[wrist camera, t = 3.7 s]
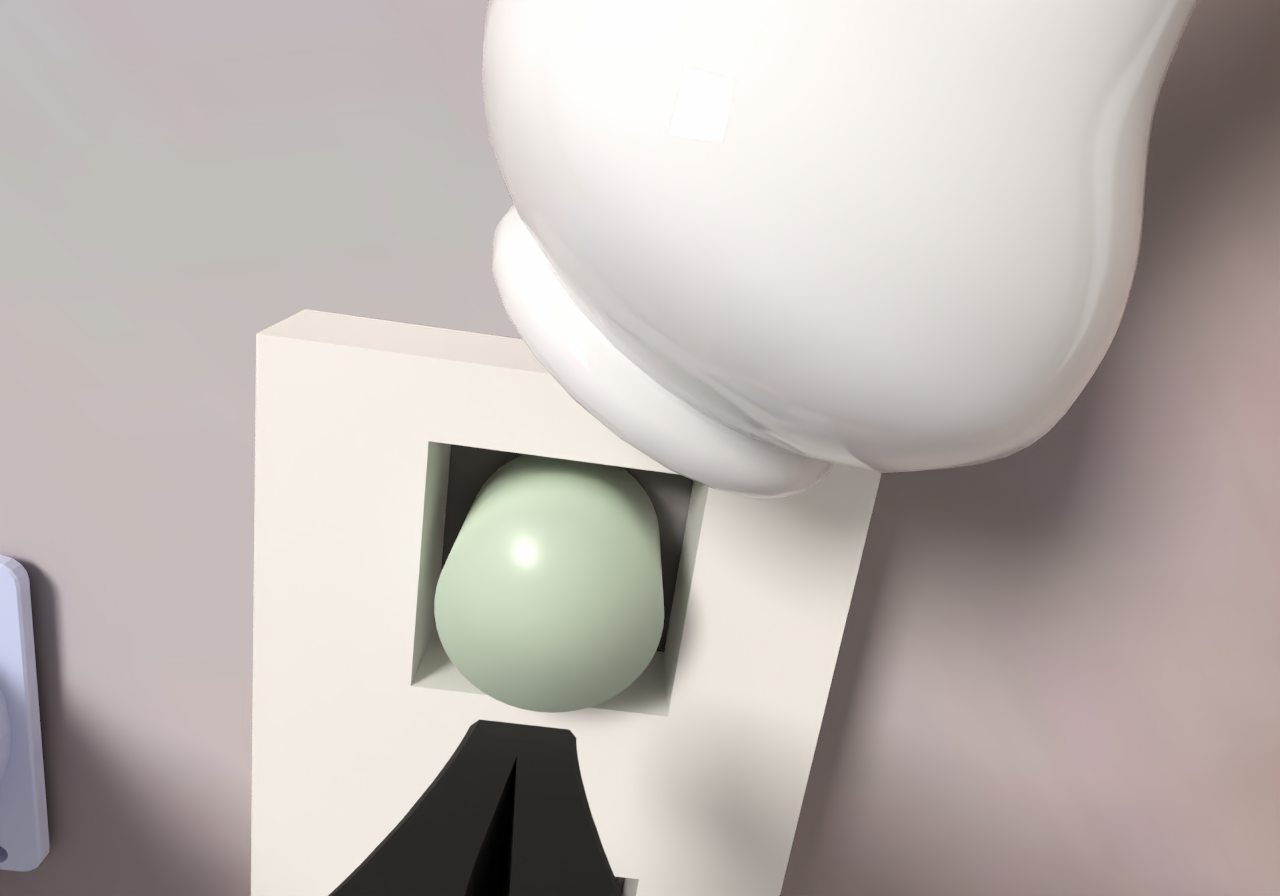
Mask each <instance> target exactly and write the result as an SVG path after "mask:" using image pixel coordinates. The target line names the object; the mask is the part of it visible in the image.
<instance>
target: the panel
mask: <svg viewBox="0 0 1280 896" xmlns="http://www.w3.org/2000/svg"><path fill="white" fill-rule="evenodd" d="M451 444H454V445H461V446H469V447H476V448H484V449H491V450H499V451H506V452H514V453H521V454H529V455H536V456H544V457H552V458H559V459H567V460H574V461H582V462H589V463H597V464H604V465H612V466H619V467H627V468H634V469H642V470H649V471H657V472H664V473H672V474H678V473H676V472H674V471H671V470H669V469H667V468H666V467H664V466H663V465H661V464H660V463H658V462H656V461H655V460H653V459H652V458H650V457H649V456H647V455H645V454H644V453H642V452H641V451H639V450H637V449H636V448H634V447H633V446H631V445H630V444H628V443H626V442H625V441H623V440H622V439H620V438H619V437H618V436H617V435H615V434H614V433H613V432H612V431H611V430H609V429H608V428H607V427H606V426H605V425H603V424H602V423H601V422H600V421H599V420H597V419H596V418H595V417H594V416H593V415H591V414H590V413H589V412H588V411H587V410H585V409H584V408H583V407H582V406H581V405H579V404H578V403H577V402H576V401H575V400H574V399H573V398H572V397H571V396H570V395H569V394H568V393H567V392H566V391H565V390H564V389H563V387H562V386H561V385H560V384H559V383H558V382H557V381H556V380H555V379H554V378H553V376H552V375H551V374H550V373H549V372H548V371H547V370H546V369H545V368H544V367H543V365H542V364H541V363H540V362H539V361H538V360H537V359H536V358H535V357H534V355H533V354H532V352H531V350H530V349H529V347H528V346H527V344H526V343H525V341H524V340H523V339H517V338H509V337H502V336H495V335H488V334H481V333H473V332H466V331H459V330H452V329H445V328H437V327H430V326H423V325H416V324H409V323H402V322H394V321H387V320H380V319H373V318H366V317H358V316H351V315H344V314H337V313H330V312H322V311H315V310H308V309H305V310H303V311H301V312H299V313H297V314H295V315H293V316H291V317H289V318H287V319H285V320H283V321H281V322H279V323H277V324H275V325H273V326H271V327H269V328H267V329H265V330H263V331H261V332H259V333H257V334H256V418H255V519H254V621H253V723H252V825H251V896H328V895H329V894H330V893H331V892H332V891H334V890H335V889H336V888H337V887H338V886H339V885H340V884H341V883H342V882H343V881H344V880H345V879H346V878H347V877H348V876H349V875H350V874H351V873H352V872H353V871H354V870H355V869H356V868H357V867H358V866H359V865H360V864H361V863H362V862H363V861H364V860H365V859H366V858H367V857H368V856H369V855H370V854H371V853H372V851H373V850H374V849H375V848H376V847H377V846H378V845H379V844H380V843H381V842H382V841H383V840H384V839H385V838H386V836H387V835H388V834H389V833H390V832H391V831H392V830H393V829H394V828H395V827H396V826H397V825H398V823H399V822H400V821H401V820H402V819H403V818H404V816H405V815H406V814H407V813H408V812H409V810H410V809H411V808H412V807H413V806H414V804H415V803H416V802H417V801H418V799H419V798H420V797H421V796H422V794H423V793H424V792H425V791H426V790H427V788H428V787H429V786H430V785H431V783H432V782H433V781H434V780H435V778H436V777H437V775H438V774H439V773H440V771H441V770H442V769H443V767H444V766H445V765H446V763H447V762H448V760H449V759H450V758H451V756H452V755H453V753H454V752H455V750H456V749H457V747H458V746H459V744H460V743H461V741H462V739H463V738H464V736H465V735H466V733H467V731H468V729H469V727H470V726H471V725H472V724H474V723H475V722H477V721H478V720H479V719H480V720H489V721H498V722H506V723H515V724H524V725H533V726H542V727H551V728H560V729H569V730H570V731H571V732H572V733H573V734H574V736H575V737H576V745H577V755H578V762H579V767H580V772H581V777H582V781H583V785H584V789H585V793H586V797H587V800H588V804H589V807H590V810H591V814H592V817H593V820H594V823H595V825H596V828H597V831H598V834H599V837H600V840H601V843H602V846H603V849H604V851H605V854H606V856H607V859H608V862H609V864H610V867H611V869H612V871H613V874H614V876H615V877H623V878H625V883H624V888H623V894H622V895H623V896H780V893H781V889H782V885H783V881H784V877H785V873H786V869H787V864H788V860H789V856H790V852H791V848H792V844H793V839H794V835H795V831H796V827H797V823H798V819H799V815H800V810H801V806H802V802H803V798H804V794H805V790H806V785H807V781H808V777H809V773H810V769H811V765H812V761H813V756H814V752H815V748H816V744H817V740H818V736H819V731H820V727H821V723H822V719H823V715H824V711H825V707H826V702H827V698H828V694H829V690H830V686H831V682H832V677H833V673H834V669H835V665H836V661H837V657H838V652H839V648H840V644H841V640H842V636H843V632H844V628H845V623H846V619H847V615H848V611H849V607H850V603H851V598H852V594H853V590H854V586H855V582H856V578H857V574H858V569H859V565H860V561H861V557H862V553H863V549H864V544H865V540H866V536H867V532H868V528H869V524H870V520H871V515H872V511H873V507H874V503H875V499H876V495H877V490H878V486H879V482H880V478H881V474H882V473H880V472H871V471H862V470H854V469H849V468H846V467H842V466H839V465H835V464H834V466H833V468H832V470H831V471H830V472H829V474H827V475H826V476H825V477H824V478H822V479H821V480H820V481H818V482H817V483H815V484H814V485H813V486H811V487H810V488H808V489H807V490H806V491H804V492H802V493H800V494H798V495H795V496H791V497H781V498H771V499H754V498H750V497H745V496H741V495H736V494H731V493H727V492H722V491H718V490H714V489H712V488H710V487H708V486H705V485H703V484H701V483H698V482H696V481H693V487H692V493H691V499H690V504H689V510H688V516H687V522H686V528H685V533H684V539H683V545H682V551H681V557H680V563H679V568H678V574H677V580H676V586H675V592H674V597H673V603H672V609H671V615H670V621H669V627H668V632H667V638H666V644H665V650H664V652H662V651H656V652H655V654H654V656H653V658H652V659H651V661H650V663H649V665H648V666H647V667H646V669H645V670H644V671H643V672H642V674H641V675H640V676H639V677H638V678H637V679H636V680H635V681H634V682H633V683H632V684H631V685H630V686H628V687H627V688H626V689H624V690H623V691H622V692H620V693H619V694H617V695H616V696H614V697H612V698H610V699H608V700H607V701H604V702H602V703H599V704H597V705H595V706H591V707H588V708H584V709H581V710H575V711H569V712H556V713H548V712H536V711H530V710H524V709H520V708H517V707H514V706H510V705H507V704H505V703H503V702H500V701H498V700H496V699H494V698H492V697H490V696H489V695H487V694H485V693H483V692H482V691H481V690H479V689H478V688H477V687H475V686H474V685H472V684H471V683H470V682H469V681H468V680H467V679H466V678H465V677H464V676H463V675H462V674H461V673H460V672H459V671H458V669H457V668H456V667H455V666H454V664H453V663H452V661H451V660H450V658H449V657H448V655H447V653H446V652H445V650H444V647H443V645H442V643H441V641H440V638H439V634H438V631H437V628H436V621H435V614H434V600H435V593H436V587H437V584H438V580H439V577H440V574H441V564H442V552H443V539H444V527H445V515H446V502H447V490H448V478H449V465H450V453H451Z"/></svg>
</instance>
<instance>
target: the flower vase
mask: <svg viewBox="0 0 1280 896" xmlns="http://www.w3.org/2000/svg"><path fill="white" fill-rule="evenodd" d="M1197 2H1198V0H488V4H487V8H486V13H485V21H484V45H483V75H482V80H483V93H484V106H485V114H486V120H487V126H488V132H489V138H490V143H491V146H492V149H493V152H494V155H495V158H496V161H497V163H498V166H499V169H500V172H501V175H502V177H503V180H504V182H505V184H506V187H507V189H508V191H509V194H510V196H511V198H512V201H513V205H512V206H511V207H510V208H509V210H508V211H507V213H506V214H505V215H504V217H503V218H502V220H501V221H500V223H499V224H498V226H497V228H496V230H495V233H494V237H493V257H492V274H493V277H494V280H495V282H496V285H497V288H498V291H499V293H500V296H501V299H502V301H503V304H504V307H505V309H506V312H507V315H508V317H509V318H510V320H511V321H512V323H513V324H514V326H515V328H516V329H517V331H518V332H519V334H520V335H521V337H522V338H523V340H524V341H525V343H526V344H527V346H528V347H529V349H530V350H531V352H532V354H533V355H534V357H535V358H536V359H537V360H538V361H539V362H540V363H541V364H542V365H543V367H544V368H545V369H546V370H547V371H548V372H549V373H550V374H551V375H552V376H553V378H554V379H555V380H556V381H557V382H558V383H559V384H560V385H561V386H562V387H563V389H564V390H565V391H566V392H567V393H568V394H569V395H570V396H571V397H572V398H573V399H574V400H575V401H576V402H577V403H578V404H579V405H581V406H582V407H583V408H584V409H585V410H587V411H588V412H589V413H590V414H591V415H593V416H594V417H595V418H596V419H597V420H599V421H600V422H601V423H602V424H603V425H605V426H606V427H607V428H608V429H609V430H611V431H612V432H613V433H614V434H615V435H617V436H618V437H619V438H620V439H622V440H623V441H625V442H626V443H628V444H630V445H631V446H633V447H634V448H636V449H637V450H639V451H641V452H642V453H644V454H645V455H647V456H649V457H650V458H652V459H653V460H655V461H656V462H658V463H660V464H661V465H663V466H664V467H666V468H667V469H669V470H671V471H674V472H676V473H678V474H680V475H683V476H685V477H687V478H689V479H692V480H694V481H696V482H698V483H701V484H703V485H705V486H708V487H710V488H712V489H714V490H718V491H722V492H727V493H731V494H736V495H741V496H745V497H750V498H754V499H771V498H781V497H791V496H795V495H798V494H800V493H802V492H804V491H806V490H807V489H808V488H810V487H811V486H813V485H814V484H815V483H817V482H818V481H820V480H821V479H822V478H824V477H825V476H826V475H827V474H829V472H830V471H831V470H832V468H833V466H834V464H835V465H839V466H842V467H846V468H849V469H854V470H862V471H871V472H880V473H890V472H908V471H923V470H937V469H950V468H957V467H963V466H970V465H977V464H982V463H986V462H989V461H993V460H997V459H1001V458H1004V457H1008V456H1010V455H1012V454H1014V453H1016V452H1018V451H1020V450H1022V449H1024V448H1027V447H1029V446H1031V445H1032V444H1033V443H1034V442H1036V441H1037V440H1038V439H1040V438H1041V437H1042V436H1044V435H1045V434H1046V433H1048V432H1049V431H1050V430H1051V429H1052V428H1053V427H1054V426H1055V425H1056V423H1057V422H1058V421H1059V420H1060V419H1061V418H1062V417H1063V416H1064V415H1065V414H1066V412H1067V411H1068V410H1069V408H1070V407H1071V406H1072V404H1073V403H1074V402H1075V400H1076V399H1077V398H1078V396H1079V395H1080V393H1081V392H1082V390H1083V389H1084V388H1085V386H1086V385H1087V383H1088V382H1089V380H1090V379H1091V377H1092V376H1093V374H1094V373H1095V371H1096V369H1097V368H1098V366H1099V364H1100V363H1101V361H1102V359H1103V358H1104V356H1105V354H1106V352H1107V351H1108V349H1109V347H1110V345H1111V343H1112V341H1113V339H1114V337H1115V335H1116V332H1117V330H1118V328H1119V326H1120V323H1121V320H1122V317H1123V314H1124V311H1125V308H1126V306H1127V302H1128V299H1129V295H1130V291H1131V288H1132V284H1133V281H1134V277H1135V272H1136V267H1137V262H1138V257H1139V252H1140V246H1141V236H1142V226H1143V217H1144V200H1145V184H1146V172H1147V160H1148V150H1149V143H1150V136H1151V129H1152V122H1153V117H1154V113H1155V109H1156V105H1157V102H1158V98H1159V94H1160V90H1161V88H1162V85H1163V82H1164V80H1165V77H1166V74H1167V72H1168V69H1169V66H1170V63H1171V61H1172V59H1173V56H1174V54H1175V52H1176V49H1177V47H1178V44H1179V42H1180V40H1181V37H1182V35H1183V33H1184V30H1185V28H1186V26H1187V24H1188V22H1189V19H1190V17H1191V15H1192V13H1193V11H1194V9H1195V6H1196V4H1197Z"/></svg>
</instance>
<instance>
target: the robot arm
mask: <svg viewBox="0 0 1280 896" xmlns="http://www.w3.org/2000/svg"><path fill="white" fill-rule="evenodd" d="M0 846H2V847H3V848H4V849H3V848H1V847H0V869H1V870H11V871H20V872H22V871H31V870H33V869H36V868H37V867H38V866H39V864H40V863H41V862H42V861H43V860H44V858H45V857H46V856H47V855H48V854H49V848H50V845H49V831H48V818H47V805H46V792H45V779H44V766H43V753H42V740H41V727H40V714H39V700H38V687H37V674H36V661H35V648H34V635H33V622H32V609H31V596H30V583H29V577H28V574H27V571H26V570H25V568H24V567H23V566H22V565H21V564H20V563H19V562H18V561H16V560H15V559H13V558H10V557H7V556H4V555H0ZM328 896H623V895H622V892H621V890H620V888H619V885H618V883H617V881H616V878H615V876H614V874H613V871H612V869H611V867H610V864H609V862H608V859H607V856H606V854H605V851H604V849H603V846H602V843H601V840H600V837H599V834H598V831H597V828H596V825H595V823H594V820H593V817H592V814H591V810H590V807H589V804H588V800H587V797H586V793H585V789H584V785H583V781H582V777H581V772H580V767H579V762H578V755H577V745H576V737H575V736H574V734H573V733H572V732H571V731H570V730H569V729H560V728H551V727H542V726H533V725H524V724H515V723H506V722H498V721H489V720H480V719H479V720H478V721H477V722H475V723H474V724H472V725H471V726H470V727H469V729H468V731H467V733H466V735H465V736H464V738H463V739H462V741H461V743H460V744H459V746H458V747H457V749H456V750H455V752H454V753H453V755H452V756H451V758H450V759H449V760H448V762H447V763H446V765H445V766H444V767H443V769H442V770H441V771H440V773H439V774H438V775H437V777H436V778H435V780H434V781H433V782H432V783H431V785H430V786H429V787H428V788H427V790H426V791H425V792H424V793H423V794H422V796H421V797H420V798H419V799H418V801H417V802H416V803H415V804H414V806H413V807H412V808H411V809H410V810H409V812H408V813H407V814H406V815H405V816H404V818H403V819H402V820H401V821H400V822H399V823H398V825H397V826H396V827H395V828H394V829H393V830H392V831H391V832H390V833H389V834H388V835H387V836H386V838H385V839H384V840H383V841H382V842H381V843H380V844H379V845H378V846H377V847H376V848H375V849H374V850H373V851H372V853H371V854H370V855H369V856H368V857H367V858H366V859H365V860H364V861H363V862H362V863H361V864H360V865H359V866H358V867H357V868H356V869H355V870H354V871H353V872H352V873H351V874H350V875H349V876H348V877H347V878H346V879H345V880H344V881H343V882H342V883H341V884H340V885H339V886H338V887H337V888H336V889H335V890H334V891H332V892H331V893H330V894H329V895H328Z"/></svg>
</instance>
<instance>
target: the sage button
mask: <svg viewBox="0 0 1280 896" xmlns="http://www.w3.org/2000/svg"><path fill="white" fill-rule="evenodd" d="M434 614H435V621H436V628H437V631H438V634H439V638H440V641H441V643H442V645H443V647H444V650H445V652H446V653H447V655H448V657H449V658H450V660H451V661H452V663H453V664H454V666H455V667H456V668H457V669H458V671H459V672H460V673H461V674H462V675H463V676H464V677H465V678H466V679H467V680H468V681H469V682H470V683H471V684H472V685H474V686H475V687H477V688H478V689H479V690H481V691H482V692H483V693H485V694H487V695H489V696H490V697H492V698H494V699H496V700H498V701H500V702H503V703H505V704H507V705H510V706H514V707H517V708H520V709H524V710H530V711H536V712H548V713H556V712H569V711H575V710H581V709H584V708H588V707H591V706H595V705H597V704H599V703H602V702H604V701H607V700H608V699H610V698H612V697H614V696H616V695H617V694H619V693H620V692H622V691H623V690H624V689H626V688H627V687H628V686H630V685H631V684H632V683H633V682H634V681H635V680H636V679H637V678H638V677H639V676H640V675H641V674H642V672H643V671H644V670H645V669H646V667H647V666H648V665H649V663H650V661H651V659H652V658H653V656H654V654H655V652H656V650H657V647H658V645H659V642H660V639H661V635H662V631H663V624H664V599H663V583H662V566H661V550H660V533H659V525H658V519H657V515H656V512H655V510H654V507H653V504H652V502H651V500H650V498H649V496H648V494H647V493H646V492H645V490H644V489H643V487H642V486H641V484H640V483H639V482H638V481H637V480H636V479H635V478H634V477H633V476H632V475H631V474H630V473H629V472H628V471H626V470H625V469H624V468H623V467H619V466H612V465H604V464H597V463H589V462H582V461H574V460H567V459H559V458H552V457H544V456H536V455H529V454H523V455H521V456H519V457H516V458H514V459H512V460H511V461H509V462H507V463H506V464H504V465H503V466H501V467H500V468H499V469H498V470H497V471H495V472H494V473H493V474H492V475H491V476H490V477H489V478H488V479H487V481H486V482H485V483H484V484H483V486H482V487H481V489H480V490H479V492H478V493H477V495H476V497H475V499H474V501H473V503H472V506H471V508H470V510H469V512H468V514H467V517H466V519H465V521H464V523H463V525H462V528H461V530H460V532H459V534H458V536H457V539H456V541H455V543H454V545H453V547H452V550H451V552H450V554H449V556H448V558H447V561H446V563H445V565H444V567H443V569H442V572H441V574H440V577H439V580H438V584H437V587H436V593H435V600H434Z"/></svg>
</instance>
